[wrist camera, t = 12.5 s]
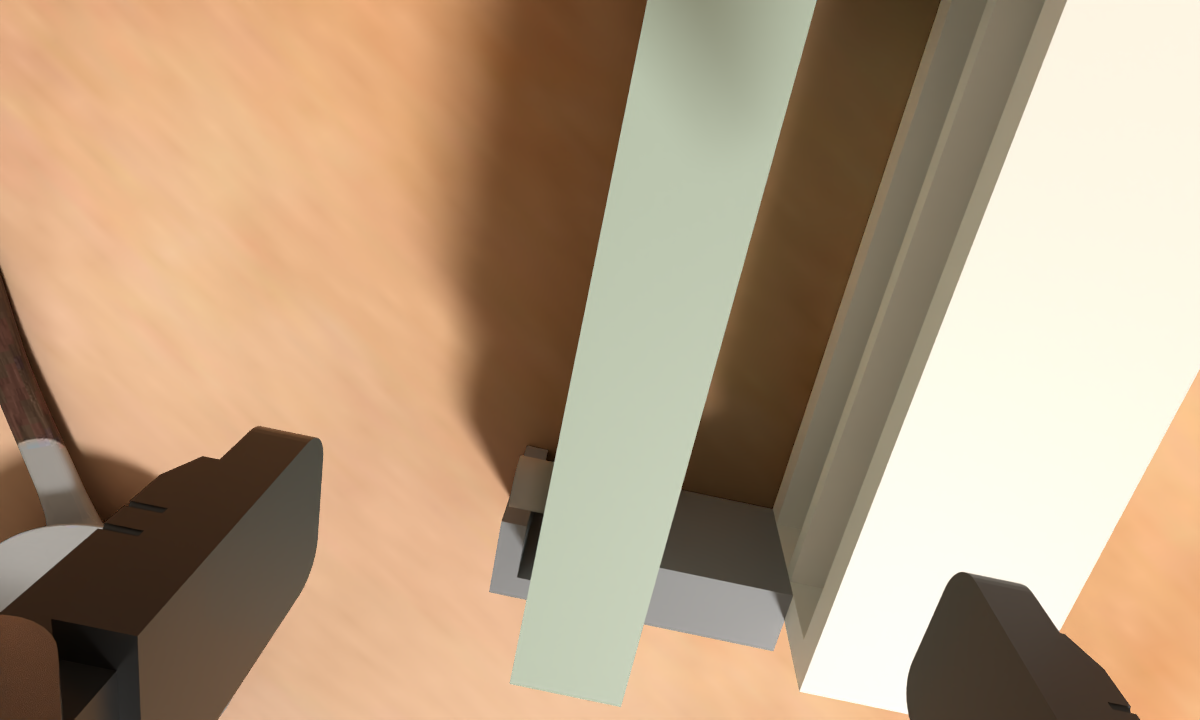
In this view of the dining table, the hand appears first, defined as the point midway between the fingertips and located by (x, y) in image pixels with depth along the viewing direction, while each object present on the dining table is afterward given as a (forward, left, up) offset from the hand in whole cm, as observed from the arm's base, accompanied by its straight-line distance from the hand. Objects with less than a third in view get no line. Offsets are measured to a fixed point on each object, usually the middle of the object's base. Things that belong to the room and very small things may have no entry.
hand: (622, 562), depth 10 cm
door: (0, 0, -18) cm, 18 cm away
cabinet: (+5, 0, -17) cm, 18 cm away
